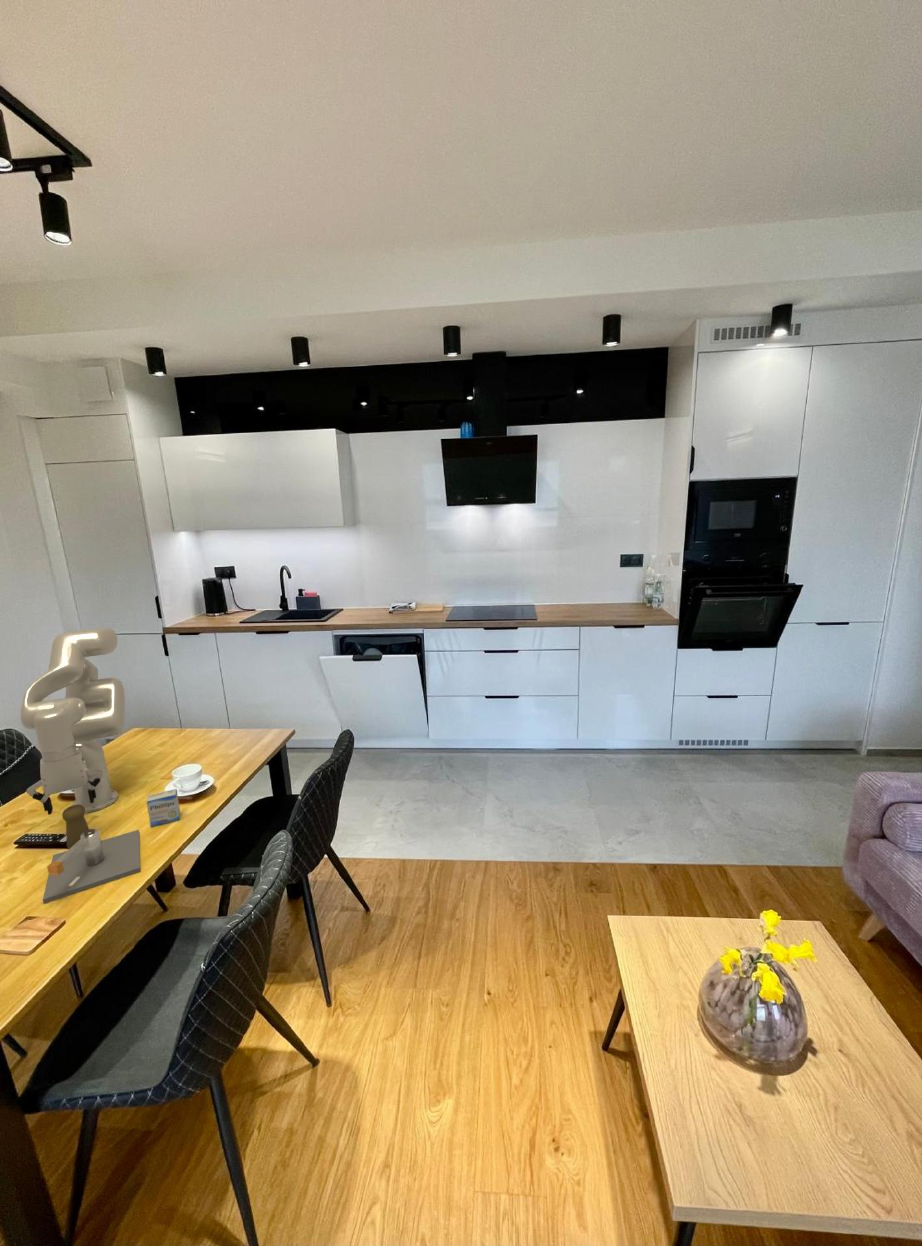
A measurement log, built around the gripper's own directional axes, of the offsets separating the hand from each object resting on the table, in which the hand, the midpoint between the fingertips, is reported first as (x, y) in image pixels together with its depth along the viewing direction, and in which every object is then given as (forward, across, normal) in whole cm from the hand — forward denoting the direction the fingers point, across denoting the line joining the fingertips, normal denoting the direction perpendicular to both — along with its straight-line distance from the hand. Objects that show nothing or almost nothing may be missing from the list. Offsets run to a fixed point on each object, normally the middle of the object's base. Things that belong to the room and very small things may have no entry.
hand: (71, 806), depth 146 cm
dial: (+8, -2, +22) cm, 23 cm away
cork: (+11, 0, +2) cm, 11 cm away
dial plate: (+10, -5, +17) cm, 20 cm away
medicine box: (+11, -22, +4) cm, 25 cm away
